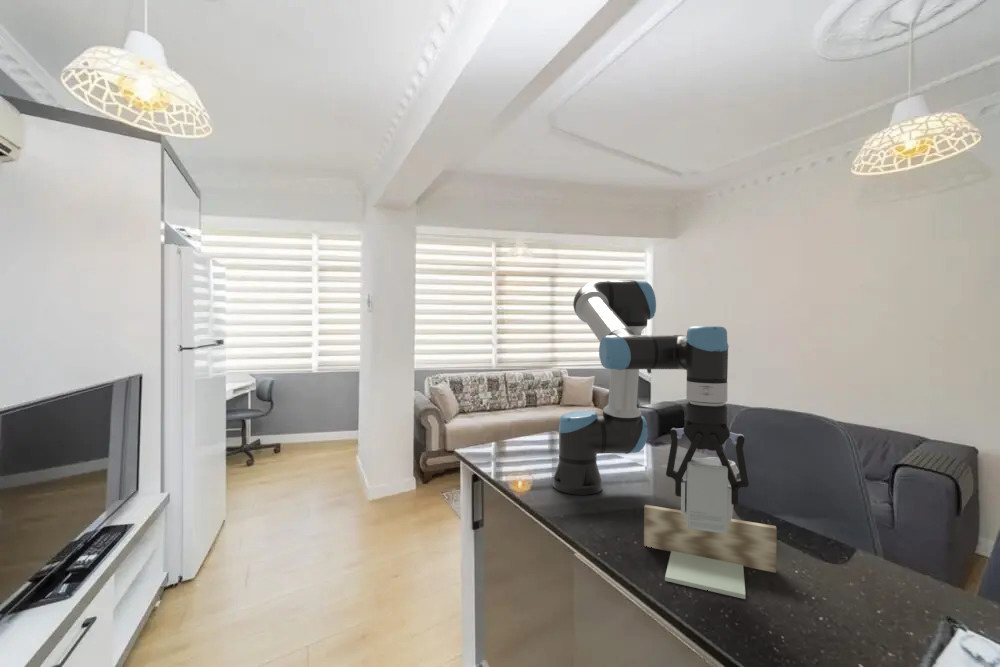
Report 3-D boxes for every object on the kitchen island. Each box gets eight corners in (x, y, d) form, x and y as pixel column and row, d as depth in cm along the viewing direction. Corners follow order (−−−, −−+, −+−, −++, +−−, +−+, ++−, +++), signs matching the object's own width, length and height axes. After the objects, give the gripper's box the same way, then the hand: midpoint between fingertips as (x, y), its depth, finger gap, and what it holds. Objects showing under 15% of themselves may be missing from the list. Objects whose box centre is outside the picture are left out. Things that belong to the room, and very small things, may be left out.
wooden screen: (644, 546, 106) (644, 506, 105) (645, 543, 107) (645, 504, 107) (776, 572, 94) (776, 528, 94) (775, 569, 96) (775, 526, 95)
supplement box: (728, 534, 88) (728, 468, 88) (686, 529, 91) (686, 464, 91) (724, 520, 95) (724, 458, 95) (685, 515, 98) (685, 455, 98)
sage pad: (664, 580, 91) (665, 576, 91) (671, 554, 102) (671, 550, 102) (745, 599, 85) (745, 594, 85) (743, 568, 96) (743, 565, 96)
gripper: (650, 401, 94) (649, 513, 94) (766, 409, 85) (766, 533, 85) (655, 397, 101) (655, 501, 101) (763, 403, 92) (763, 518, 92)
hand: (705, 515), depth 93 cm, fingers closed on supplement box, 8 cm apart
